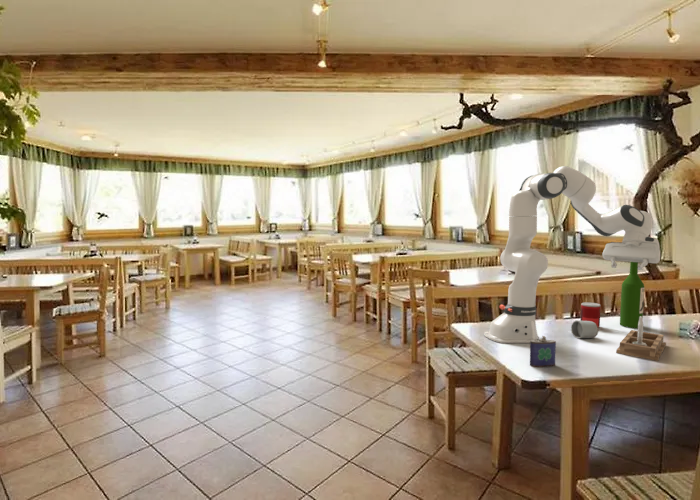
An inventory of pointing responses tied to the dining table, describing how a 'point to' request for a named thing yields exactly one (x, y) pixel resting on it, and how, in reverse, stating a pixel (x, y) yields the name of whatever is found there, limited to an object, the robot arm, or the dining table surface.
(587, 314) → the canned food
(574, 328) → the ceramic mug
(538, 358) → the flask
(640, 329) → the screw
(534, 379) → the dining table surface
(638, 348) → the rack
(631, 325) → the wine bottle
